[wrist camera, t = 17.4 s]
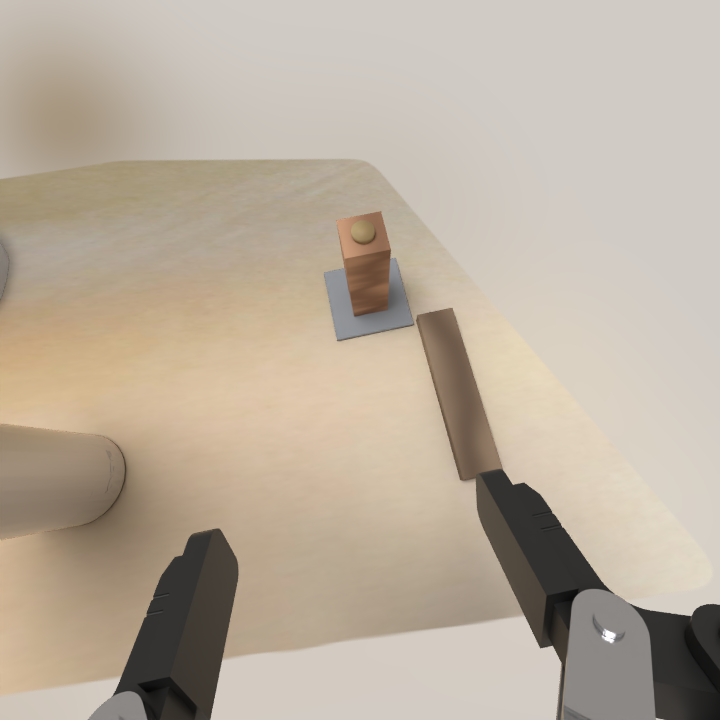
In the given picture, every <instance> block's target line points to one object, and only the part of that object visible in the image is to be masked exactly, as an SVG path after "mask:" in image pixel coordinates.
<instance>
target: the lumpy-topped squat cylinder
mask: <svg viewBox="0 0 720 720" xmlns="http://www.w3.org/2000/svg"><path fill="white" fill-rule="evenodd" d="M8 268H9V258H8V255H7V253H6V251H5V249H4V247H3V246H2V244H1V243H0V300H1V297H2V294H3V291H4V288H5V284H6V280H7V275H8Z"/></svg>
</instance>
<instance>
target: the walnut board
mask: <svg viewBox="0 0 720 720" xmlns="http://www.w3.org/2000/svg"><path fill="white" fill-rule="evenodd" d="M416 321H417V325H418V328H419V332H420V336H421V339H422V343H423V347H424V350H425V354H426V357H427V361H428V365H429V368H430V372H431V376H432V379H433V383H434V386H435V390H436V394H437V397H438V401H439V405H440V408H441V412H442V416H443V419H444V423H445V426H446V430H447V434H448V437H449V441H450V445H451V448H452V452H453V455H454V459H455V463H456V466H457V470H458V474H459V477H460V480H466V479H471V478H475V477H476V474H477V473H481V472H486V471H490V470H495V469H502V465H501V462H500V459H499V456H498V453H497V449H496V446H495V443H494V440H493V437H492V433H491V430H490V427H489V424H488V421H487V417H486V414H485V411H484V408H483V405H482V401H481V398H480V395H479V392H478V389H477V385H476V382H475V379H474V376H473V373H472V369H471V366H470V363H469V360H468V357H467V353H466V350H465V347H464V344H463V341H462V337H461V334H460V331H459V328H458V325H457V321H456V318H455V315H454V312H453V309H452V308H449V309H444V310H439V311H435V312H430V313H425V314H420V315H418V316H417V320H416ZM502 470H503V469H502Z"/></svg>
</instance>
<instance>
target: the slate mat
mask: <svg viewBox="0 0 720 720" xmlns="http://www.w3.org/2000/svg"><path fill="white" fill-rule="evenodd" d="M324 276H325V281H326V286H327V291H328V296H329V302H330V307H331V312H332V317H333V322H334V327H335V332H336V337H337V341H340V340H345V339H350V338H354V337H359V336H364V335H369V334H373V333H378V332H383V331H388V330H392V329H397V328H402V327H407V326H411V325H413V320H412V316H411V313H410V309H409V305H408V302H407V298H406V294H405V291H404V287H403V283H402V280H401V276H400V272H399V269H398V265H397V261H396V258H392V259H390V272H389V291H388V310H385V311H380V312H375V313H370V314H365V315H360V316H355V317H354V314H353V309H352V305H351V300H350V295H349V290H348V285H347V279H346V273H345V268H343V269H339V270H334V271H329V272H324Z"/></svg>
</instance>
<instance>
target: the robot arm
mask: <svg viewBox="0 0 720 720" xmlns="http://www.w3.org/2000/svg"><path fill="white" fill-rule="evenodd" d="M124 475H125V465H124V459H123V456H122V454H121V452H120V450H119V449H118V447H117V446H116V445H115V444H114V443H113V442H112V441H110V440H109V439H107V438H105V437H101V436H97V435H89V434H81V433H73V432H66V431H58V430H49V429H41V428H33V427H24V426H16V425H7V424H0V540H4V539H9V538H15V537H20V536H25V535H31V534H36V533H41V532H48V531H53V530H58V529H63V528H69V527H74V526H79V525H84V524H87V523H89V522H91V521H94V520H95V519H97V518H98V517H100V516H101V515H103V514H104V513H105V512H106V511H107V510H108V509H109V508H110V507H111V506H112V504H113V503H114V502H115V500H116V499H117V497H118V495H119V493H120V491H121V488H122V485H123V482H124ZM476 495H477V510H478V514H479V518H480V521H481V524H482V526H483V529H484V531H485V533H486V535H487V537H488V539H489V541H490V543H491V545H492V548H493V550H494V552H495V554H496V556H497V558H498V560H499V562H500V564H501V566H502V569H503V571H504V573H505V575H506V577H507V579H508V581H509V583H510V585H511V588H512V590H513V592H514V594H515V596H516V598H517V600H518V602H519V604H520V607H521V609H522V611H523V613H524V615H525V617H526V619H527V621H528V623H529V625H530V628H531V630H532V632H533V634H534V636H535V638H536V640H537V642H538V644H539V646H540V648H544V647H548V646H553V647H554V649H555V651H556V653H557V655H558V657H559V659H560V661H561V662H562V664H561V674H560V685H559V696H558V707H557V716H556V720H656V718H659V719H664V720H720V605H716V604H706V605H703V606H700V607H699V608H697V609H696V610H695V611H694V612H693V615H692V616H685V615H678V614H671V613H664V612H656V611H650V610H645V609H642V608H639V607H636V606H633V605H632V604H629V603H628V602H626V601H625V600H624V599H622V598H620V597H619V596H617V595H615V594H614V593H613V592H611V591H610V590H609V589H608V588H607V587H606V586H605V585H604V584H603V582H602V581H601V580H600V579H599V577H598V576H597V574H596V573H595V571H594V570H593V569H592V567H591V566H590V564H589V563H588V562H587V560H586V559H585V557H584V556H583V554H582V553H581V552H580V550H579V549H578V547H577V546H576V545H575V543H574V542H573V540H572V539H571V537H570V536H569V535H568V533H567V532H566V530H565V529H564V528H562V526H561V523H560V522H559V520H558V519H557V518H556V516H555V515H554V514H553V513H552V511H551V509H550V508H549V506H548V505H547V503H546V502H545V501H544V499H543V498H542V496H541V495H540V494H539V493H537V492H536V491H535V490H533V489H532V488H531V487H529V486H528V485H527V484H525V483H520V484H515V485H513V484H512V483H511V481H510V480H509V478H508V477H507V475H506V474H505V472H504V471H503V470H502V469H495V470H490V471H486V472H481V473H477V474H476ZM237 582H238V563H237V559H236V557H235V555H234V553H233V551H232V549H231V548H230V546H229V544H228V542H227V540H226V539H225V537H224V535H223V533H222V531H221V530H220V529H212V530H208V531H203V532H198V533H194V534H192V535H191V536H190V537H189V539H188V542H187V545H186V547H185V550H184V553H183V555H182V556H178V557H175V558H174V559H173V560H172V562H171V563H170V565H169V566H168V567H167V569H166V570H165V571H164V573H163V574H162V576H161V578H160V580H159V583H158V585H157V588H156V590H155V593H154V595H153V597H154V599H153V600H152V601H151V603H150V606H149V608H148V611H147V617H145V618H144V621H143V623H142V626H141V629H140V631H139V634H138V636H137V639H136V641H135V644H134V646H133V649H132V651H131V654H130V656H129V659H128V662H127V664H126V667H125V669H124V672H123V674H122V677H121V679H120V682H119V684H118V687H117V689H116V691H115V693H114V695H113V696H112V697H111V698H110V699H108V700H107V701H106V702H104V703H103V704H102V705H101V706H100V707H99V708H98V709H97V710H96V711H95V712H94V713H93V714H92V715H91V717H90V718H89V719H88V720H210V718H211V713H212V708H213V703H214V698H215V693H216V688H217V682H218V678H219V672H220V667H221V662H222V657H223V652H224V647H225V642H226V637H227V632H228V627H229V622H230V617H231V612H232V607H233V602H234V597H235V592H236V587H237Z"/></svg>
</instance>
